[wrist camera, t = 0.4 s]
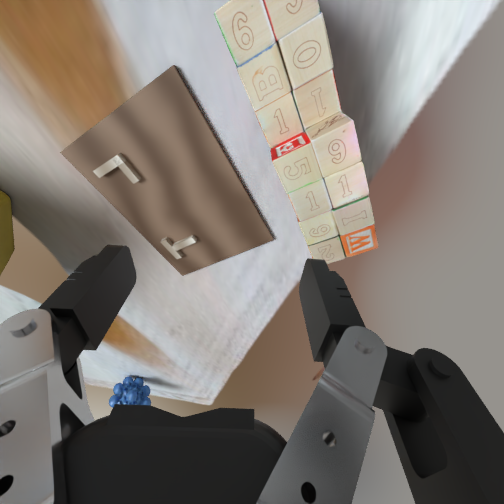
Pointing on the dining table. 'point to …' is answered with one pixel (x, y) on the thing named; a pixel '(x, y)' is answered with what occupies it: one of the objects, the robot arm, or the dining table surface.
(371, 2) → the dining table surface
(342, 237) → the stack of blocks
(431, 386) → the robot arm
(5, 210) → the flower pot
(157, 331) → the dining table surface
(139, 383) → the grapes
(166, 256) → the board
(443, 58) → the dining table surface
